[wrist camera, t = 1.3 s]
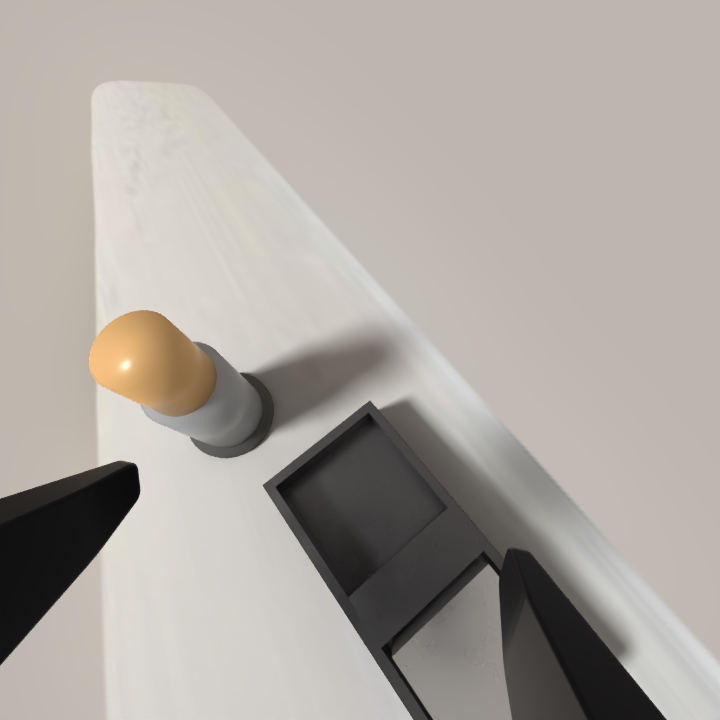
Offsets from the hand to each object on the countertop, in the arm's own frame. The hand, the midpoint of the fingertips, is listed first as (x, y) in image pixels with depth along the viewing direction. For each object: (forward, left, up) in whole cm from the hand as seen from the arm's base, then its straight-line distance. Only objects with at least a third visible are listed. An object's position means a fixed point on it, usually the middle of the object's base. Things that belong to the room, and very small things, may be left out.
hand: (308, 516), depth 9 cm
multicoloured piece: (-3, +10, -14) cm, 17 cm away
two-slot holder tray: (+1, -4, -14) cm, 15 cm away
